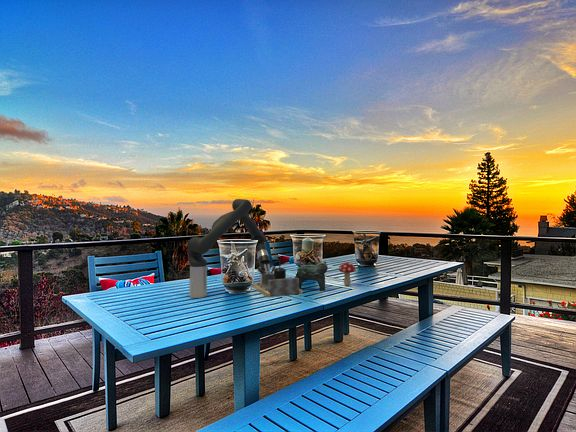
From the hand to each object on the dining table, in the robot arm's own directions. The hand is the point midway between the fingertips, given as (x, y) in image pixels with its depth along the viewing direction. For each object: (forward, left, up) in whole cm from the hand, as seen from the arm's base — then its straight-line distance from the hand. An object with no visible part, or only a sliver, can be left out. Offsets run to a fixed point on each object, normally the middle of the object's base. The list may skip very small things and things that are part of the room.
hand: (269, 279), depth 219 cm
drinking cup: (0, -18, -5) cm, 18 cm away
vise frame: (0, -11, -4) cm, 12 cm away
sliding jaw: (0, -6, -4) cm, 8 cm away
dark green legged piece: (+20, -20, -5) cm, 29 cm away
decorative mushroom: (+47, -18, -5) cm, 50 cm away
